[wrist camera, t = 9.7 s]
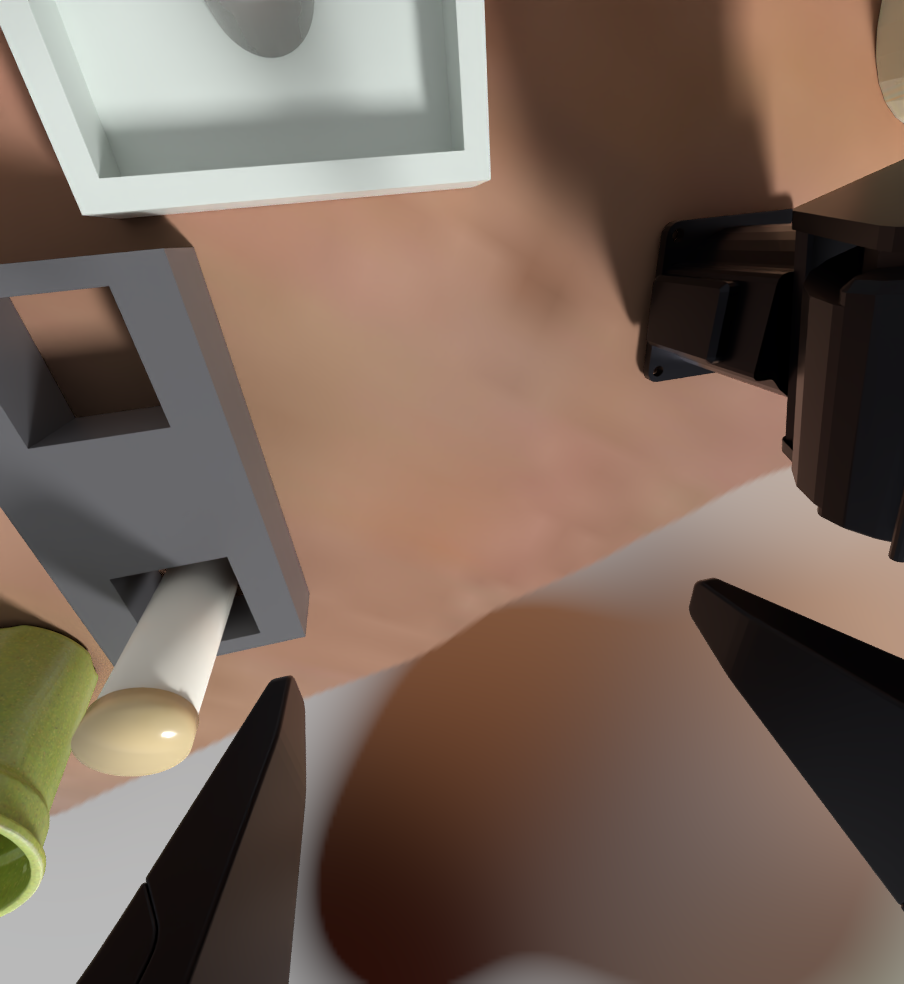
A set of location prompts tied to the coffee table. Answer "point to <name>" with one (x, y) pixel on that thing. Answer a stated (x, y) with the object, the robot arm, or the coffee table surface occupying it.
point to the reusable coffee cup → (891, 55)
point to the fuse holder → (143, 459)
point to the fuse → (160, 676)
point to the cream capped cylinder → (264, 24)
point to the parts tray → (254, 103)
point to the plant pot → (35, 745)
